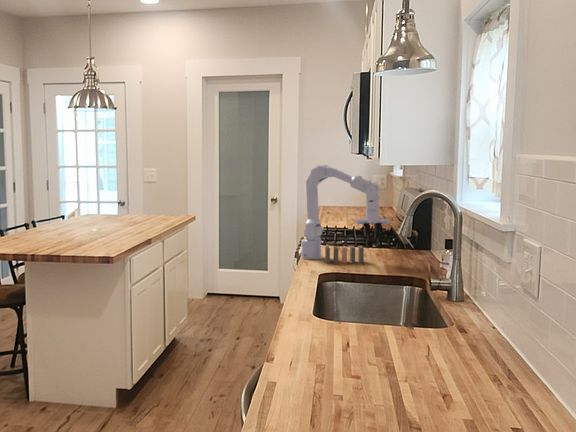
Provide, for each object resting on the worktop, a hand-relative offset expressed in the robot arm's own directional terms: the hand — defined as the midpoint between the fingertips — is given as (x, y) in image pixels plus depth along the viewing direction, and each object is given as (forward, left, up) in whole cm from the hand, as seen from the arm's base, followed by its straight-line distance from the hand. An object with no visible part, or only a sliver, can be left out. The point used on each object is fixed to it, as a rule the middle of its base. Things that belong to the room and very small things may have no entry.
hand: (372, 239), depth 225 cm
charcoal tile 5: (-20, 0, -10) cm, 23 cm away
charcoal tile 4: (-17, 0, -10) cm, 19 cm away
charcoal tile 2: (-9, 0, -10) cm, 13 cm away
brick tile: (-13, 0, -10) cm, 16 cm away
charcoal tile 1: (-5, 0, -10) cm, 11 cm away
